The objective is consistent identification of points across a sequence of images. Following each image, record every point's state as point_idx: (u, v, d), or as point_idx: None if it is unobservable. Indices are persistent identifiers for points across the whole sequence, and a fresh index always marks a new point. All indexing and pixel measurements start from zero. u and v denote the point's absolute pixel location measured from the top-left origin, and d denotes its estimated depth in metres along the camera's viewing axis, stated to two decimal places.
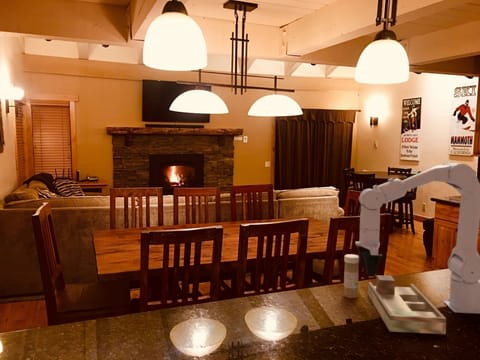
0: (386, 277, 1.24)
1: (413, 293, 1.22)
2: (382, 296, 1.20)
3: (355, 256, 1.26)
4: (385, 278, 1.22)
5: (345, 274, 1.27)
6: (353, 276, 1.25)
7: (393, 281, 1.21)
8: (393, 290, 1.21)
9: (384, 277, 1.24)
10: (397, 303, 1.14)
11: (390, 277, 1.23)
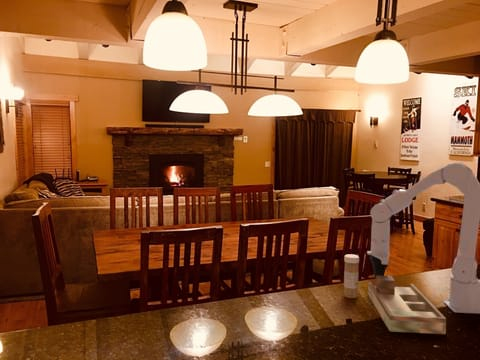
0: (386, 277, 1.24)
1: (413, 293, 1.22)
2: (382, 296, 1.20)
3: (355, 256, 1.26)
4: (385, 278, 1.22)
5: (345, 274, 1.27)
6: (353, 276, 1.25)
7: (393, 281, 1.21)
8: (393, 290, 1.21)
9: (384, 277, 1.24)
10: (397, 303, 1.14)
11: (390, 277, 1.23)
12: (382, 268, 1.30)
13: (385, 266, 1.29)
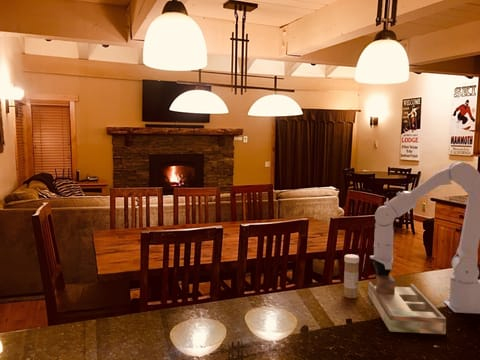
0: (386, 277, 1.24)
1: (413, 293, 1.22)
2: (382, 296, 1.20)
3: (355, 256, 1.26)
4: (385, 279, 1.22)
5: (345, 274, 1.27)
6: (353, 276, 1.25)
7: (393, 281, 1.21)
8: (393, 290, 1.21)
9: (384, 277, 1.24)
10: (397, 303, 1.14)
11: (390, 277, 1.23)
12: (385, 273, 1.26)
13: (388, 271, 1.25)
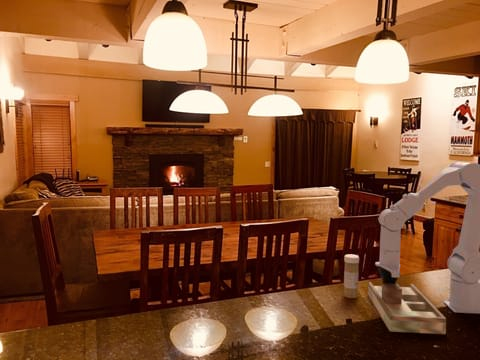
0: (392, 285, 1.16)
1: (413, 293, 1.22)
2: None
3: (355, 256, 1.26)
4: (392, 287, 1.15)
5: (345, 274, 1.27)
6: (353, 276, 1.25)
7: (400, 290, 1.13)
8: (400, 299, 1.14)
9: (390, 285, 1.16)
10: None
11: (397, 286, 1.16)
12: (392, 281, 1.19)
13: (395, 279, 1.17)
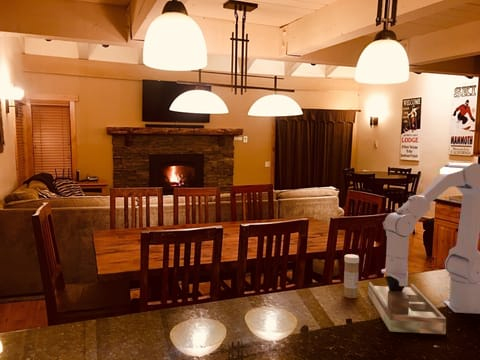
0: (399, 293, 1.09)
1: (413, 293, 1.22)
2: (382, 296, 1.20)
3: (355, 256, 1.26)
4: (398, 296, 1.08)
5: (345, 274, 1.27)
6: (353, 276, 1.25)
7: (407, 299, 1.07)
8: (407, 309, 1.07)
9: (397, 293, 1.09)
10: None
11: (403, 294, 1.09)
12: (398, 288, 1.12)
13: (402, 286, 1.11)
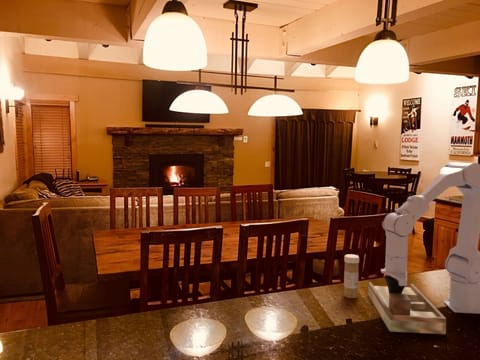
0: (400, 296, 1.08)
1: (413, 293, 1.22)
2: (382, 296, 1.20)
3: (355, 256, 1.26)
4: (399, 297, 1.07)
5: (345, 274, 1.27)
6: (353, 276, 1.25)
7: (408, 301, 1.05)
8: (408, 311, 1.06)
9: (398, 296, 1.08)
10: None
11: (405, 296, 1.08)
12: (399, 289, 1.12)
13: (402, 287, 1.11)
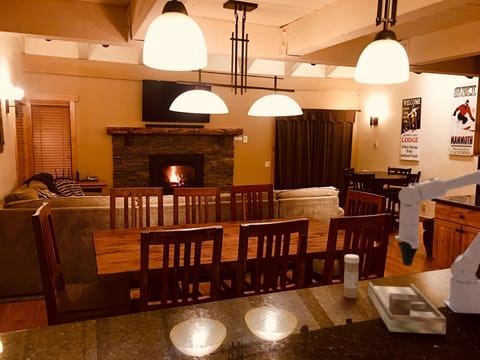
0: (400, 296, 1.08)
1: (413, 293, 1.22)
2: (382, 296, 1.20)
3: (355, 256, 1.26)
4: (399, 297, 1.07)
5: (345, 274, 1.27)
6: (353, 276, 1.25)
7: (408, 301, 1.05)
8: (408, 311, 1.06)
9: (398, 296, 1.08)
10: None
11: (405, 296, 1.08)
12: (411, 253, 1.26)
13: (414, 251, 1.25)
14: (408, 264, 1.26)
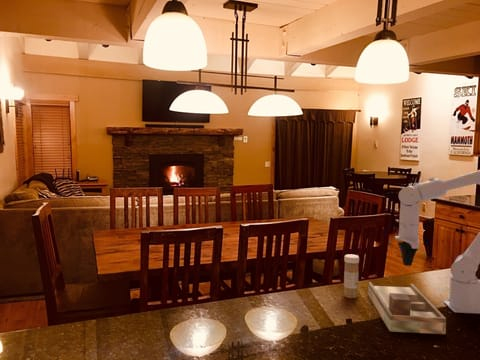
0: (400, 296, 1.08)
1: (413, 293, 1.22)
2: (382, 296, 1.20)
3: (355, 256, 1.26)
4: (399, 297, 1.07)
5: (345, 274, 1.27)
6: (353, 276, 1.25)
7: (408, 301, 1.05)
8: (408, 311, 1.06)
9: (398, 296, 1.08)
10: None
11: (405, 296, 1.08)
12: (411, 253, 1.26)
13: (414, 251, 1.25)
14: (408, 264, 1.26)
